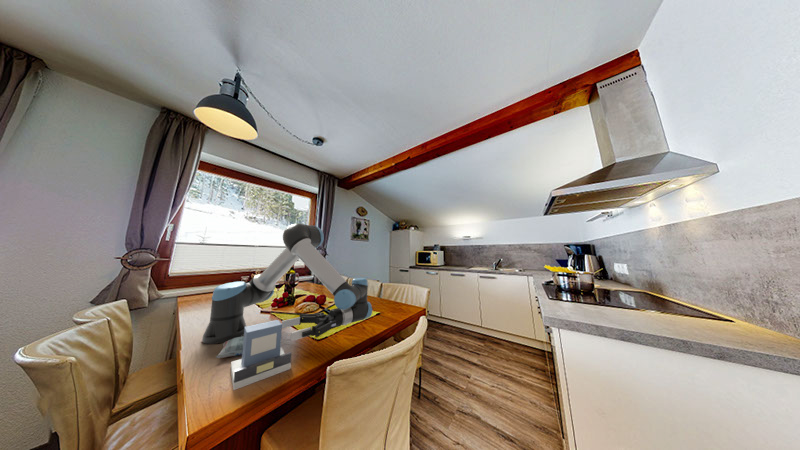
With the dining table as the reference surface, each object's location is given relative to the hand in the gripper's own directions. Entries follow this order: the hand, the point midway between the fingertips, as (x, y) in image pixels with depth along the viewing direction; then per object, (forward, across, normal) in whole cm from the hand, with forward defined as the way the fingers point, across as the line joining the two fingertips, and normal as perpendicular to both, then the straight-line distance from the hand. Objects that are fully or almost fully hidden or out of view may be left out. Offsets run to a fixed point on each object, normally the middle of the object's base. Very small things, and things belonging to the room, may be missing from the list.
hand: (286, 330), depth 73 cm
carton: (+7, 0, -9) cm, 11 cm away
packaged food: (+13, +19, -11) cm, 26 cm away
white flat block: (+7, 0, -11) cm, 13 cm away
